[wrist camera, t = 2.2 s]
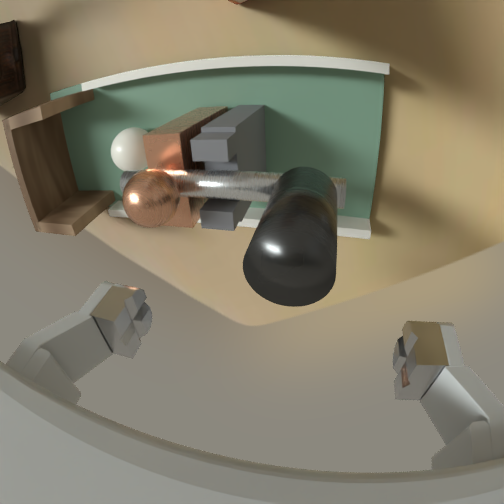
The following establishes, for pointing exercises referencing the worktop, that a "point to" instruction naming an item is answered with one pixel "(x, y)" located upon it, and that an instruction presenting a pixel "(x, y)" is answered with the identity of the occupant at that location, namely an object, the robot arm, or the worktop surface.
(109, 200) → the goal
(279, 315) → the worktop surface
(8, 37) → the manual coffee grinder
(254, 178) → the black head mallet
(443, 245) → the worktop surface
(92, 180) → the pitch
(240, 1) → the cracker box
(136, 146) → the ball
